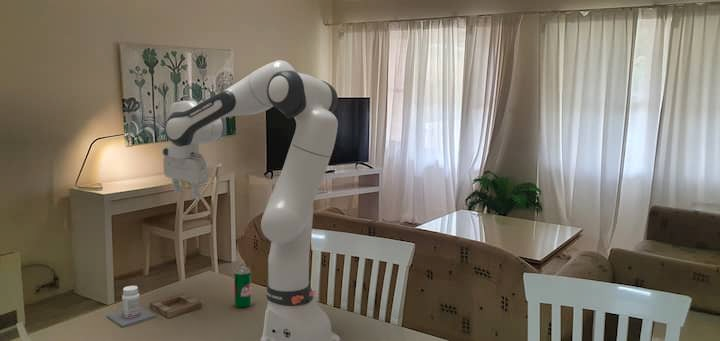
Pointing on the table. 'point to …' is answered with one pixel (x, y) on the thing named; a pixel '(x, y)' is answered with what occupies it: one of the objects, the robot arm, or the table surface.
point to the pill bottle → (131, 302)
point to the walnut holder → (168, 312)
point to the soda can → (242, 287)
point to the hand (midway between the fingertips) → (186, 194)
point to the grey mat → (125, 322)
